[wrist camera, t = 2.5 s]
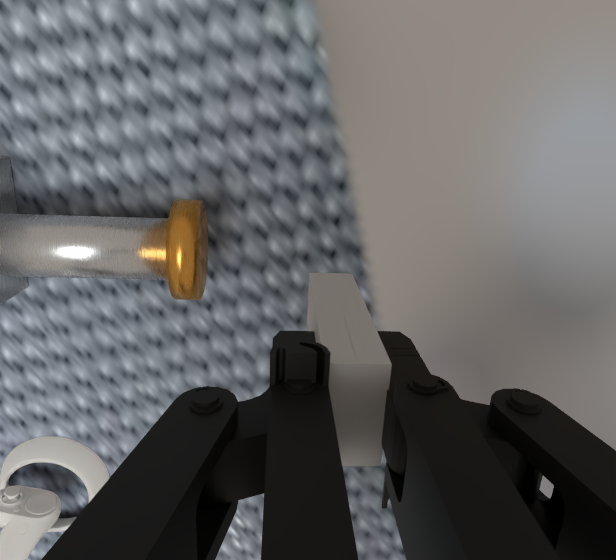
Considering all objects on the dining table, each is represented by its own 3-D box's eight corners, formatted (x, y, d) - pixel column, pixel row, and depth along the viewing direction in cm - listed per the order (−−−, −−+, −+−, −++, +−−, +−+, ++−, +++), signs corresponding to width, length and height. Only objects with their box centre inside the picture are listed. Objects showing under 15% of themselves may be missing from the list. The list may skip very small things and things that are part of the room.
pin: (208, 281, 28) (193, 314, 23) (-5, 276, 28) (-68, 309, 23) (206, 193, 27) (189, 209, 22) (-20, 185, 26) (-91, 199, 21)
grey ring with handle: (-74, 618, 32) (-134, 610, 26) (43, 447, 39) (15, 414, 34) (29, 661, 31) (-11, 662, 26) (127, 480, 39) (112, 451, 33)
